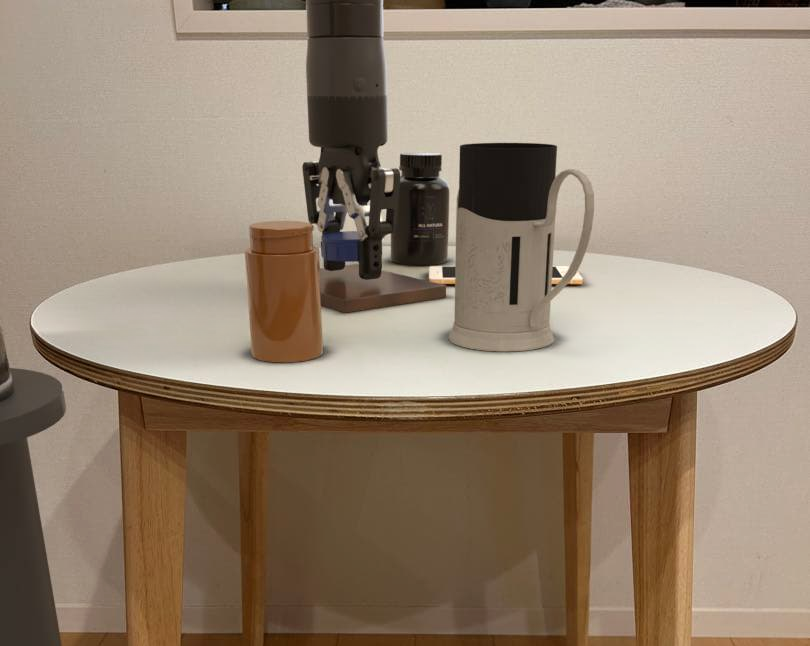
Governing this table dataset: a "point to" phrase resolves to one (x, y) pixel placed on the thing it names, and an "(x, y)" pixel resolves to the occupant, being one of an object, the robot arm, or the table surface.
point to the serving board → (373, 290)
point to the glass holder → (509, 245)
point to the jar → (284, 292)
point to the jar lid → (340, 246)
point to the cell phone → (448, 275)
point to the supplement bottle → (421, 211)
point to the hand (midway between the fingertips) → (351, 273)
